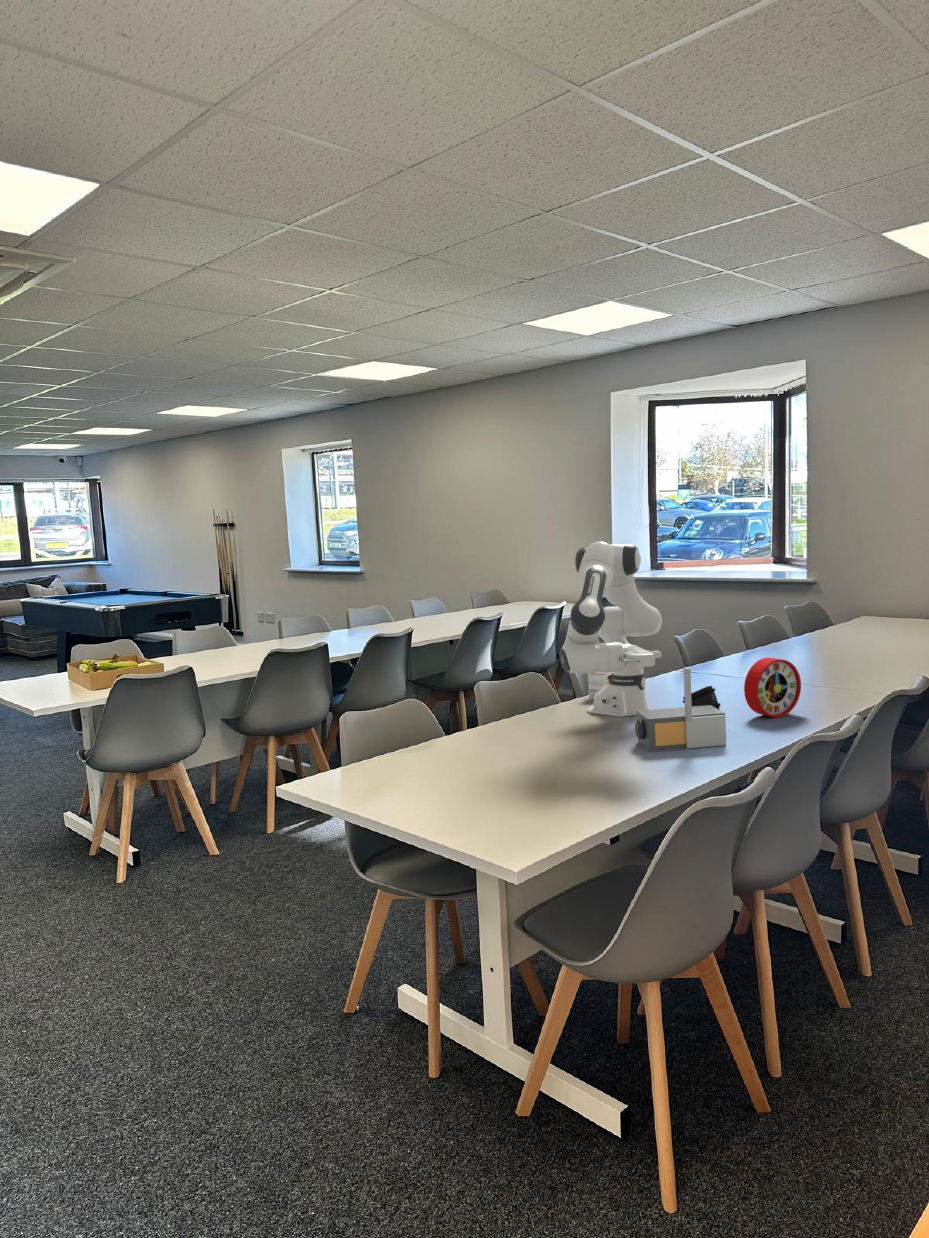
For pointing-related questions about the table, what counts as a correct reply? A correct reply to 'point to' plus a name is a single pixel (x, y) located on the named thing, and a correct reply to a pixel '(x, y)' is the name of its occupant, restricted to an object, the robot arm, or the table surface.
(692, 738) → the door
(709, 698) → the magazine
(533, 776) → the table surface
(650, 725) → the camera housing
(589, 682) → the ink box
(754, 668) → the toy clock
